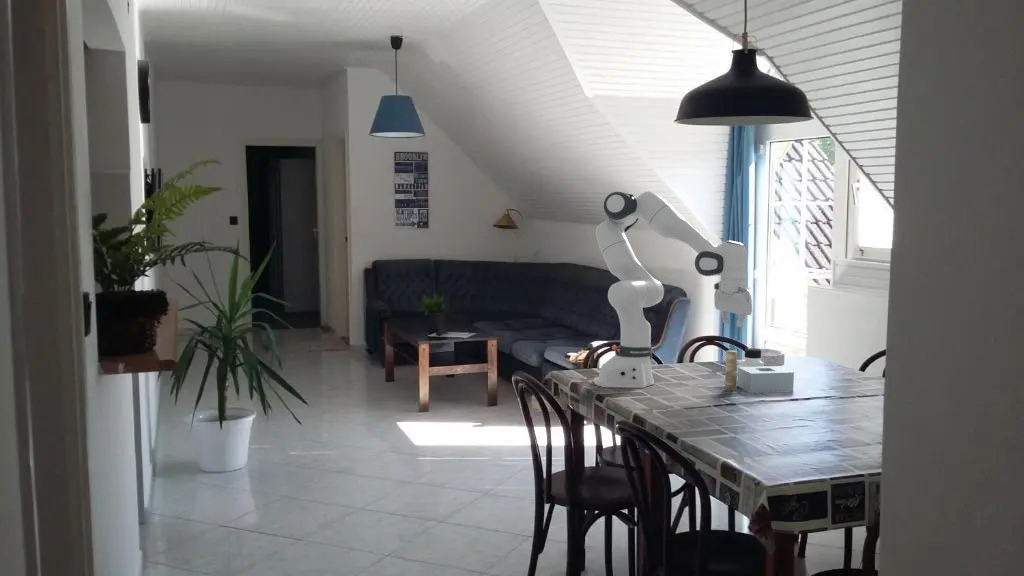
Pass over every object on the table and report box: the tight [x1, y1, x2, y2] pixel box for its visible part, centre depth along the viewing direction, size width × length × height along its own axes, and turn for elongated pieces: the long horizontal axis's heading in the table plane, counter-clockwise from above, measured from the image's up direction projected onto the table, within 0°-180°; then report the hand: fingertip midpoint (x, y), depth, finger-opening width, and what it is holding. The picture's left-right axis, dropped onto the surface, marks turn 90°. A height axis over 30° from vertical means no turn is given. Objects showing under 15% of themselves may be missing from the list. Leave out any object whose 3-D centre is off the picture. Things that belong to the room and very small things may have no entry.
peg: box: [724, 350, 738, 392], centre depth 317 cm, size 4×4×14 cm
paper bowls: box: [757, 348, 786, 367], centre depth 352 cm, size 15×15×8 cm
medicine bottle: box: [740, 347, 764, 367], centre depth 334 cm, size 7×7×12 cm
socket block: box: [736, 366, 795, 394], centre depth 319 cm, size 16×12×7 cm
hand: (732, 324), depth 315 cm, fingers open, 8 cm apart
